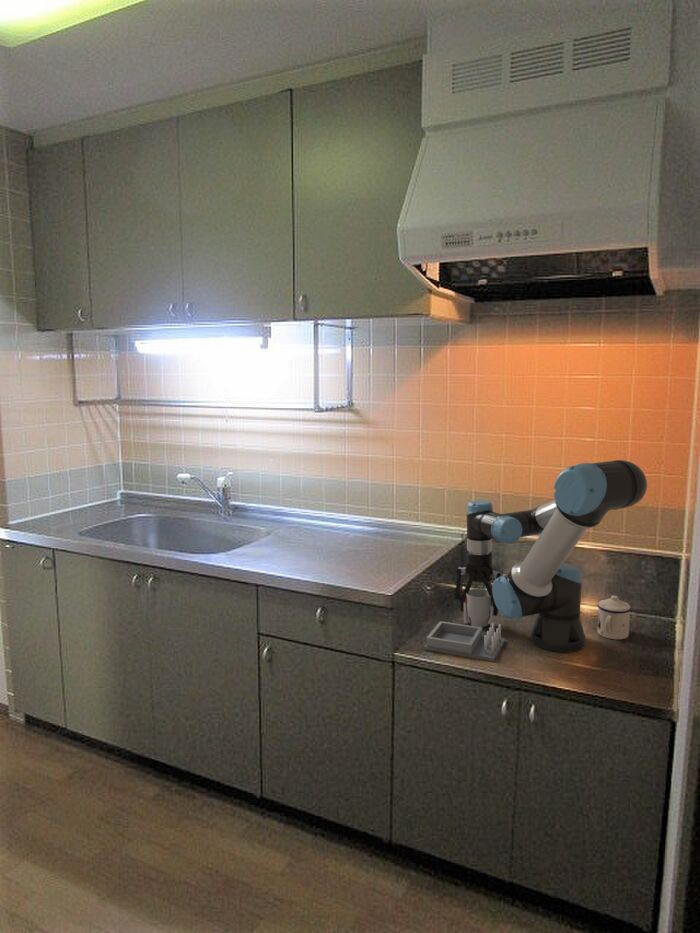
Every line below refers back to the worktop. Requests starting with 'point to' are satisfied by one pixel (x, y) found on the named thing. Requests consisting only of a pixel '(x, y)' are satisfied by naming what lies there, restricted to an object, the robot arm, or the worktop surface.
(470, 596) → the cup
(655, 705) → the worktop surface
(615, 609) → the teacup with lid
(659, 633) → the worktop surface
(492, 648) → the dish rack
